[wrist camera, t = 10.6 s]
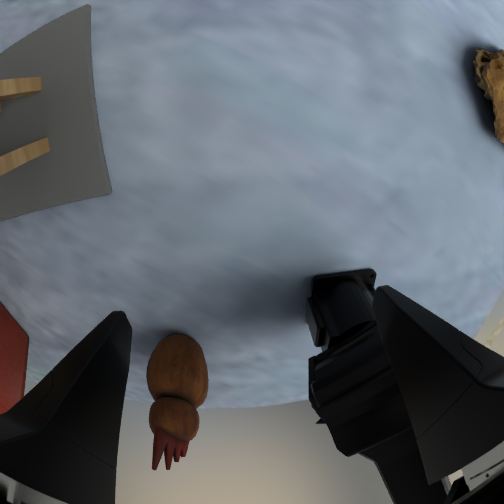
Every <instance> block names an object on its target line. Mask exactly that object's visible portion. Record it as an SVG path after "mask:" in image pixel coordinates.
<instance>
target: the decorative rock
mask: <svg viewBox="0 0 504 504" xmlns="http://www.w3.org/2000/svg"><path fill="white" fill-rule="evenodd" d="M476 52H477V54H476V56H475V57H476V60H474V61H472V62H473V64H474V67H475V71H476V73H475V77H474V80H475V82H476V84H477V86H478V87H480V88H482V89H483V90H485V95H484V96H485V98H486V99H488V100H491V101H492V102H493V111H494V112H493V114H494V115H495V117H496V118H495V121H494V126H495V136H496V137H497V138H498V139H499V141H501V142H502V143H503V144H504V50H500V51H499V52H497V51H496V52H495V53H491V52H489V51H485V50H482V49H481V51H480V50H477V49H476Z"/></svg>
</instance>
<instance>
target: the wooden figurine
mask: <svg viewBox="0 0 504 504" xmlns="http://www.w3.org/2000/svg"><path fill="white" fill-rule="evenodd" d="M146 377H147V384H148V389H149V391H150V393H151V395H152V397H153V399H154V400H155V402H154V403H153V404H152V406H151V408H150V413H149V424H150V428H151V430H152V432H153V433H154V443H153V460H152V469H153V470H156V469H157V467H158V464H159V462H160V459H161V456H162V454H163V451H164V456H165V464H166V469H167V470H170V467H171V462H172V458H173V457H174V461H175V462H179V458H180V456H181V457H185V456H186V452H187V449H188V444H189V441H190V440H192V439H193V438H194V437H195V436H196V434H197V431H198V428H199V415H198V412H197V410H196V409H197V408H198V407H199V406H200V405H202V404H203V403H204V401H205V399H206V397H207V392H208V372H207V365H206V361H205V358H204V354H203V351H202V348H201V347H200V345H199V344H198V343H197V342H196V341H195V340H194V339H192V338H190V337H187V336H185V335H170V336H168V337H166V338H164V339H163V340H162V341H161V342H160V343H159V344H158V345H157V347H156V348H155V350H154V351H153V353H152V355H151V357H150V359H149V362H148V366H147V375H146Z"/></svg>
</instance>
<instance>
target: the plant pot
mask: <svg viewBox="0 0 504 504" xmlns="http://www.w3.org/2000/svg"><path fill="white" fill-rule="evenodd" d="M28 346H29V337H28V335H27V334H26V333H25V331H24V330H23V329H22V328H21V327H20V326H19V325H18V323H17V322H16V321H15V320H14V319H13V317H12V316H11V315H10V314H9V313H8V311H7V310H6V309H5V308H4V306H3V305H2V304H1V302H0V414H2V413H5V412H6V411H8V410H9V409H10V408H12V407H13V406H14V405H15V404H16V403H17V402H18V401H19V400H20V399H22V398H23V397H24V389H25V380H26V369H27V358H28Z"/></svg>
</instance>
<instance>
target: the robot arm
mask: <svg viewBox="0 0 504 504" xmlns="http://www.w3.org/2000/svg"><path fill="white" fill-rule="evenodd" d="M371 274H372V275H371ZM375 279H376V272H375V271H374V270H373V269H369V270H362V271H354V272H346V273H338V274H329V275H321V276H315V277H314V278H313V279H312V285H311V296H310V297H308V299H307V309H306V319H307V322H308V325H309V329H310V332H311V335H312V339H313V342H314V345H315V346H316V347H321V349H322V353H320V354H318V355H316V356H313V357H311V358H309V359H308V360H309V400H310V402H311V404H312V408H313V409H315V411H316V413H317V414H318V415H319V417H320V418H321V419H322V420H324V421H325V423H326V424H327V426H328V428H329V430H330V433H331V435H332V437H333V440H334V443H335V445H336V448H337V449H338V450H339V451H340V452H342V453H343V454H344V455H345V456H347V457H350V456H352V455H355V454H357V453H358V454H360V455H362V456H364V457H365V458H367V459H370V460H371V461H373V462H374V463H375V465H376V466H377V468H378V471H379V473H380V475H381V477H382V479H383V481H384V483H385V486H386V488H387V490H388V492H389V494H390V497H391V499H392V501H393V503H394V504H504V357H503V356H501V355H499V354H498V353H496V352H494V351H492V350H490V349H489V348H487V347H485V346H484V345H482V344H480V343H478V342H477V341H475V340H474V339H472V338H470V337H469V336H467V335H466V334H464V333H463V332H461V331H459V330H458V329H457V328H455V327H454V326H452V325H451V324H449V323H448V322H446V321H444V320H443V319H441V318H440V317H438V316H437V315H435V314H434V313H432V312H430V311H429V310H427V309H426V308H424V307H422V306H421V305H419V304H418V303H416V302H414V301H413V300H411V299H410V298H408V297H406V296H405V295H403V294H402V293H400V292H398V291H397V290H395V289H393V288H392V287H390V286H388V285H384V286H379V287H377V289H376V290H375V288H374V283H375ZM317 281H319V282H317ZM131 340H132V327H131V325H130V323H129V321H128V319H127V316H126V314H125V313H124V312H123V311H113V312H111V313H110V314H109V315H108V316H107V317H106V318H105V319H104V320H103V321H102V322H101V323H99V324H98V325H97V326H96V327H95V328H94V329H93V330H92V331H91V332H90V333H89V334H88V335H87V336H86V337H85V338H84V339H83V340H82V341H81V342H79V343H78V344H77V345H76V346H75V347H74V348H73V349H72V350H71V351H70V352H69V353H68V354H67V355H66V356H65V357H64V358H63V359H62V360H61V361H60V362H59V363H58V364H57V365H56V366H55V367H54V368H53V371H52V370H51V371H50V372H49V373H48V374H47V375H46V376H45V377H44V378H43V379H42V380H41V381H40V382H39V383H38V384H37V385H36V386H35V387H34V388H33V389H32V390H31V391H29V393H27V394H26V395H25V396H24V397H23V398H22V399H20V400H19V401H18V402H17V403H16V404H15V405H14V406H13V407H12V408H10V409H9V410H8V411H6V412H5V413H2V414H0V504H115V487H116V467H117V454H118V443H119V433H120V425H121V417H122V410H123V403H124V397H125V390H126V384H127V378H128V372H129V364H130V352H131ZM460 469H462V472H463V476H462V477H460V478H459V479H457V480H455V481H454V482H453V484H452V486H451V483H450V481H449V478H448V475H450V474H452V473H454V472H456V471H458V470H460Z"/></svg>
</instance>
